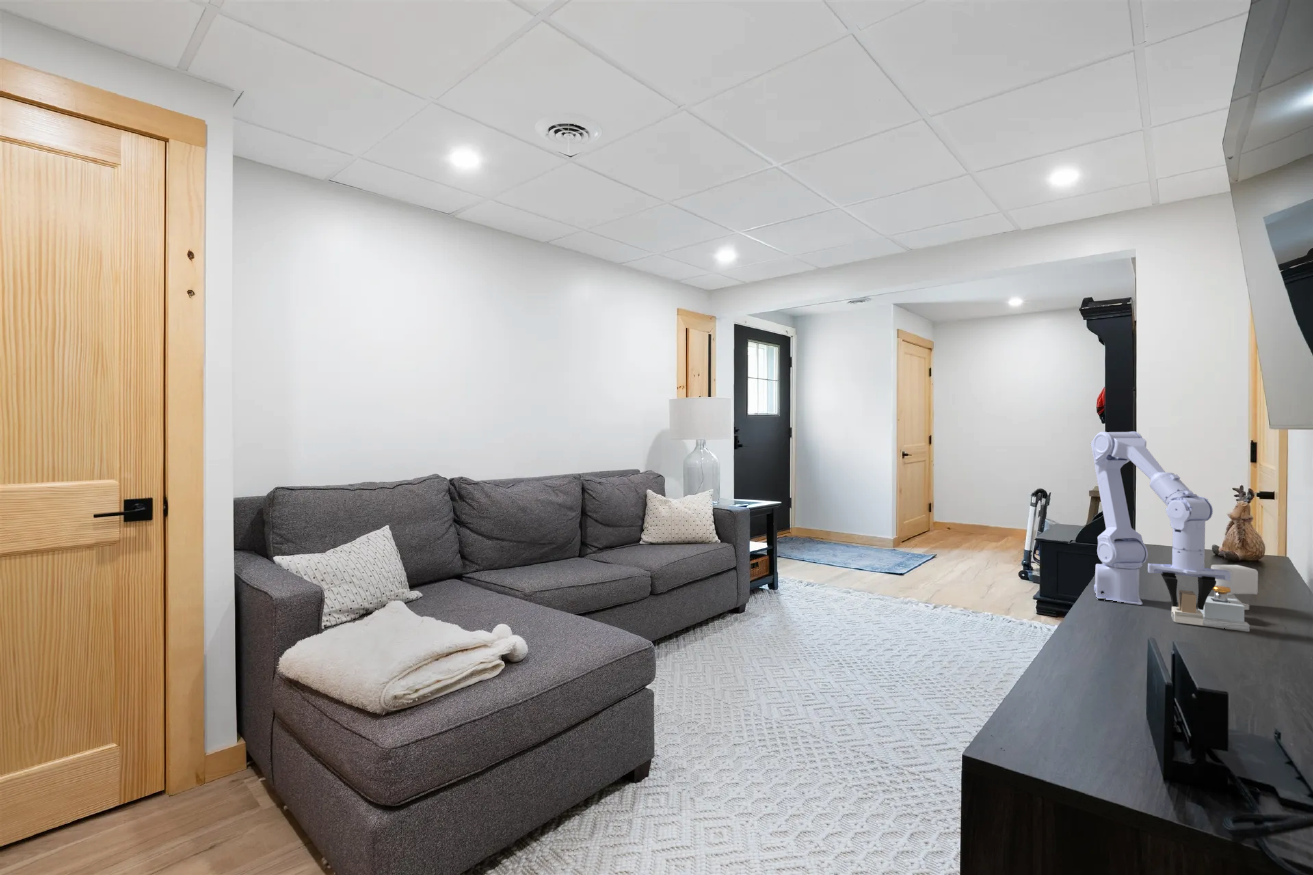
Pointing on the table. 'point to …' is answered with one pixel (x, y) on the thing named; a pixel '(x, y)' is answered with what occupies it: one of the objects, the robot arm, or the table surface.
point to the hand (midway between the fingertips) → (1187, 607)
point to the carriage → (1187, 609)
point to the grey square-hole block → (1223, 609)
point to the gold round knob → (1221, 593)
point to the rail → (1223, 623)
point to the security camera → (1239, 581)
